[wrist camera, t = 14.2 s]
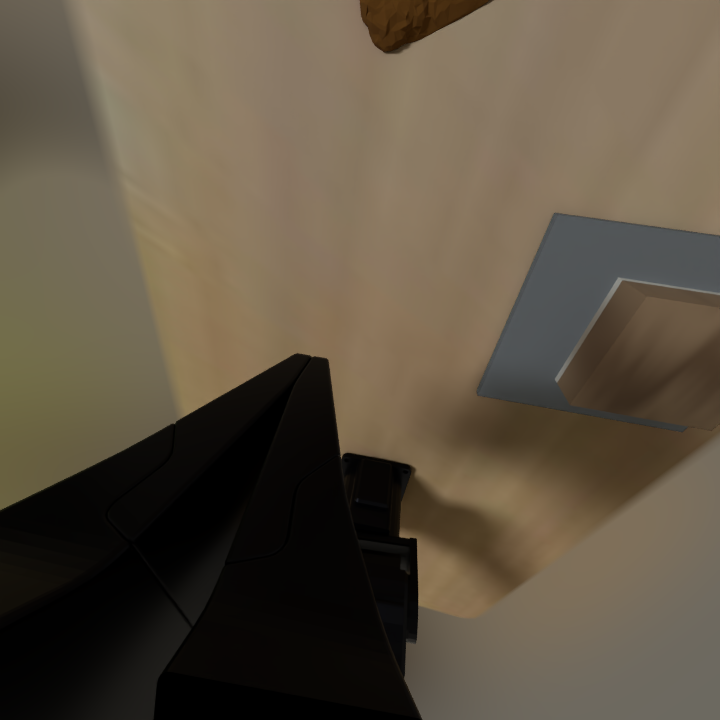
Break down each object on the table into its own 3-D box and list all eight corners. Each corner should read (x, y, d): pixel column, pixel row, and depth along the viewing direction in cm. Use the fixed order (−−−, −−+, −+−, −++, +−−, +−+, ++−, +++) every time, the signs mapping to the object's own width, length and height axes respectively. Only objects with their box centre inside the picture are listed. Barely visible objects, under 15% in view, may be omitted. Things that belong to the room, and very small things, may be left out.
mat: (677, 426, 21) (682, 432, 21) (476, 390, 22) (477, 395, 22) (857, 254, 14) (870, 257, 14) (554, 212, 15) (558, 214, 15)
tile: (554, 379, 20) (681, 401, 20) (569, 405, 18) (711, 430, 18) (618, 277, 16) (780, 302, 16) (646, 296, 14) (833, 325, 14)
